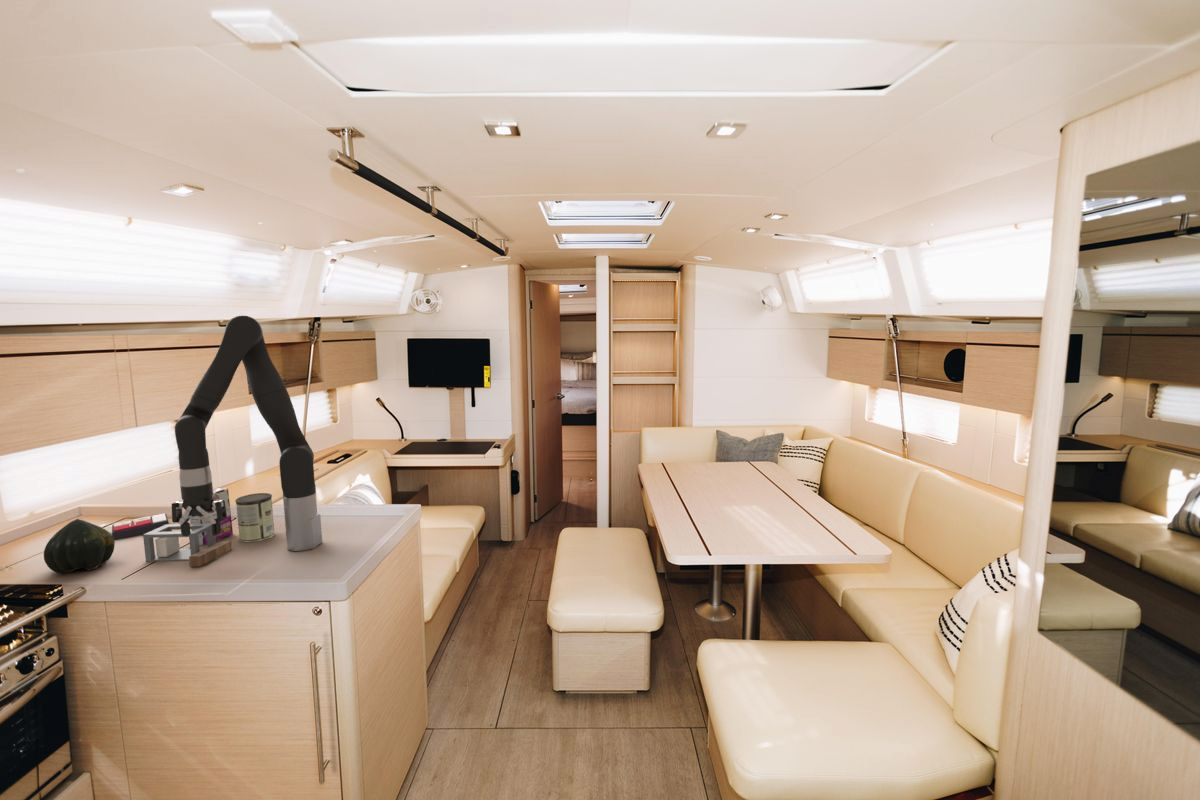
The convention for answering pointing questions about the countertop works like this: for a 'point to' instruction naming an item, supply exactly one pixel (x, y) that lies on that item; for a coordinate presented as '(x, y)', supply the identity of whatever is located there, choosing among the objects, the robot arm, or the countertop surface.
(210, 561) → the stylus pad
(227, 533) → the candy bar box
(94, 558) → the squash
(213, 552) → the wooden block
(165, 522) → the flat navy red box
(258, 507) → the coffee can
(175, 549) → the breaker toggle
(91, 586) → the countertop surface
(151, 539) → the breaker guard
